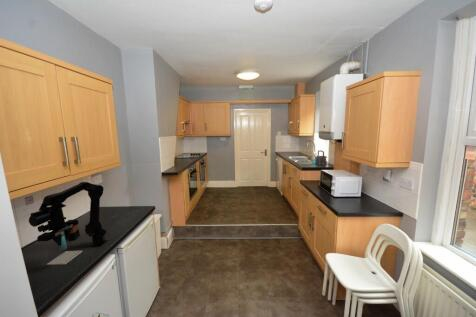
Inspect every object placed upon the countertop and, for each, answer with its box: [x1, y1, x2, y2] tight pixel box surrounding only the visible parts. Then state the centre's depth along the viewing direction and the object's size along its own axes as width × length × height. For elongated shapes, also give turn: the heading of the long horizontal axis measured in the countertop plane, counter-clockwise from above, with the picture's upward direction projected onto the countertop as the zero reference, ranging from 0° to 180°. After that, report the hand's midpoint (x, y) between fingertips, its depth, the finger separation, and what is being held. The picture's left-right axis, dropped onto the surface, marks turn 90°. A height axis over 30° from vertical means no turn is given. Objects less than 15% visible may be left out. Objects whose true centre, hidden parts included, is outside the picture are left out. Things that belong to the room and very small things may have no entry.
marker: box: [58, 231, 68, 251], centre depth 110 cm, size 3×3×10 cm
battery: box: [67, 224, 81, 242], centre depth 141 cm, size 4×7×10 cm, turn 16°
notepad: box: [46, 250, 83, 266], centre depth 119 cm, size 12×11×1 cm
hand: (62, 243), depth 110 cm, fingers closed on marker, 3 cm apart
